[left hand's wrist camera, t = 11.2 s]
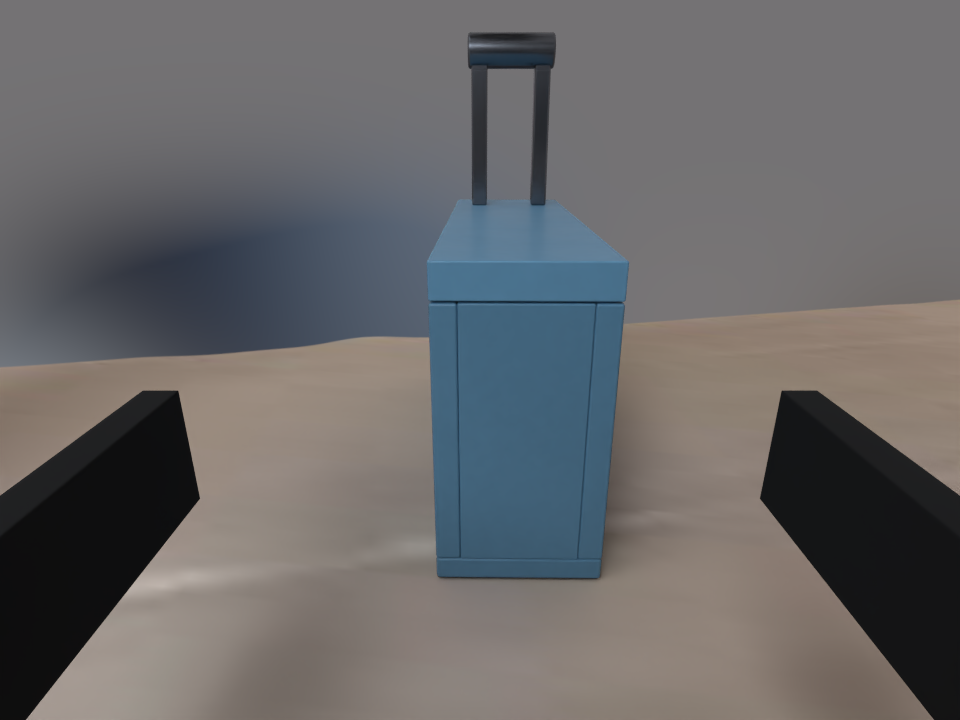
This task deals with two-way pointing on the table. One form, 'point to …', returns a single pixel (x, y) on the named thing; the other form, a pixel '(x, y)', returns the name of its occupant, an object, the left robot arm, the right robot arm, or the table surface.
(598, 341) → the chest
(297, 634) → the table surface
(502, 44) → the lid
